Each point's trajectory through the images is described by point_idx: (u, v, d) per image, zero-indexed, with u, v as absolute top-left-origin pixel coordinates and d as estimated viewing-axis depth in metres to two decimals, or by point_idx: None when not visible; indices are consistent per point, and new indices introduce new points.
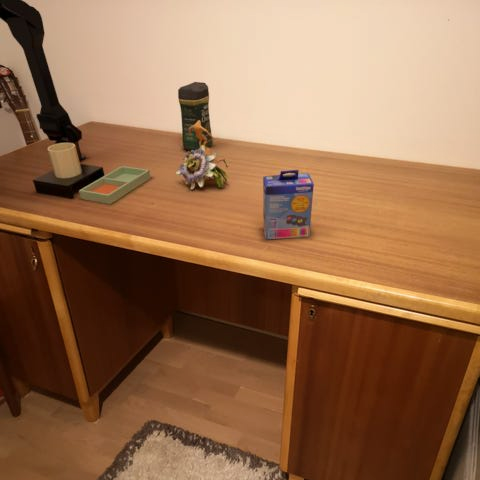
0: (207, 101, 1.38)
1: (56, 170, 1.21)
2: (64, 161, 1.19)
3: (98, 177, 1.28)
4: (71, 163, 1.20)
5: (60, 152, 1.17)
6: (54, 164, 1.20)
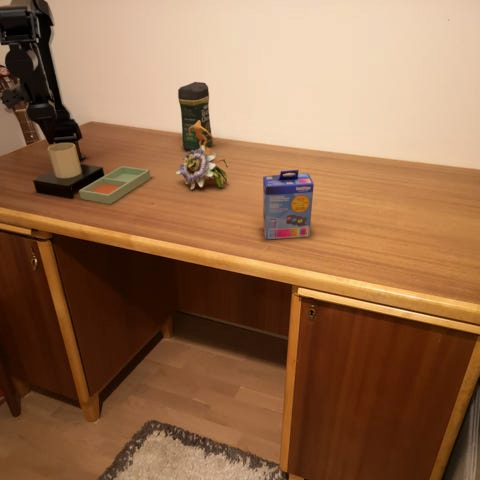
0: (207, 101, 1.38)
1: (56, 170, 1.21)
2: (64, 161, 1.19)
3: (98, 177, 1.28)
4: (71, 163, 1.20)
5: (60, 152, 1.17)
6: (54, 164, 1.20)
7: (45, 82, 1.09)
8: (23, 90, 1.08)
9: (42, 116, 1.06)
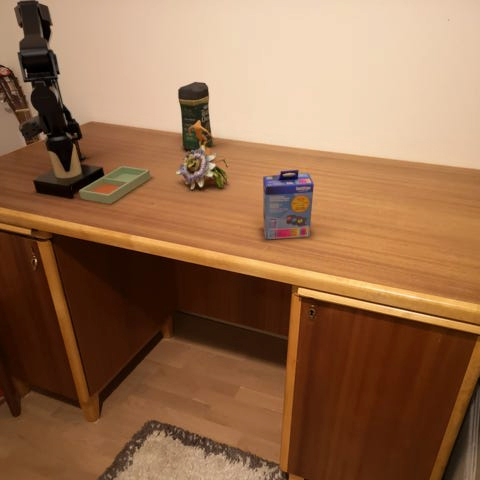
0: (207, 101, 1.38)
1: (56, 170, 1.21)
2: None
3: (98, 177, 1.28)
4: (71, 163, 1.20)
5: None
6: (54, 164, 1.20)
7: (62, 115, 1.15)
8: (42, 123, 1.13)
9: (61, 148, 1.11)
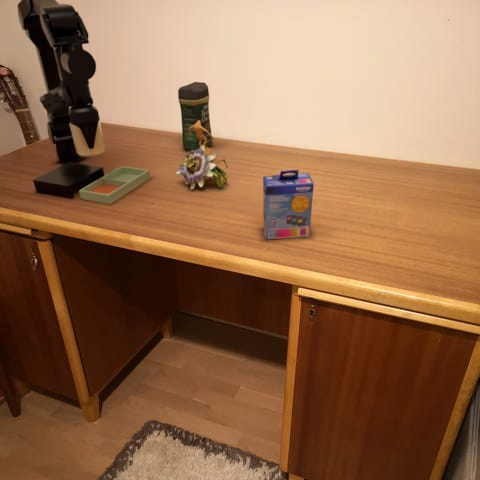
0: (207, 101, 1.38)
1: (79, 147, 1.11)
2: None
3: (98, 177, 1.28)
4: (95, 139, 1.11)
5: None
6: (77, 140, 1.10)
7: (87, 85, 1.05)
8: (65, 94, 1.03)
9: (86, 121, 1.02)
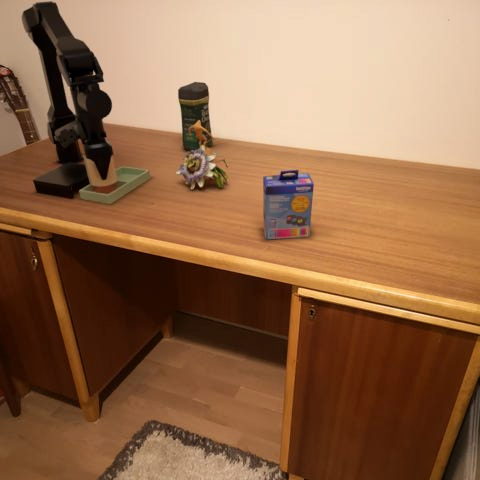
0: (207, 101, 1.38)
1: (92, 178, 1.15)
2: None
3: None
4: (108, 171, 1.14)
5: None
6: (90, 172, 1.14)
7: (101, 120, 1.09)
8: (80, 129, 1.07)
9: (100, 156, 1.06)
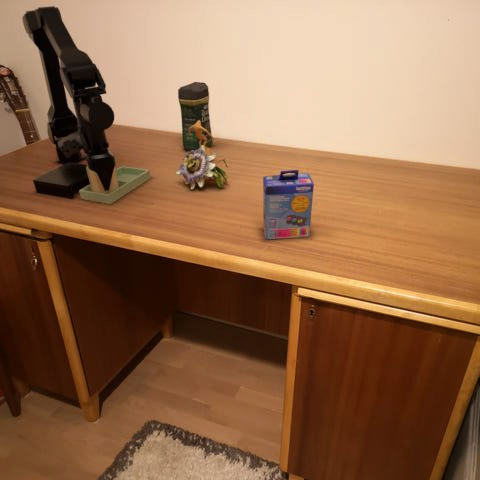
0: (207, 101, 1.38)
1: (95, 189, 1.17)
2: None
3: None
4: None
5: None
6: (93, 183, 1.16)
7: (103, 131, 1.10)
8: (82, 140, 1.09)
9: (102, 166, 1.07)
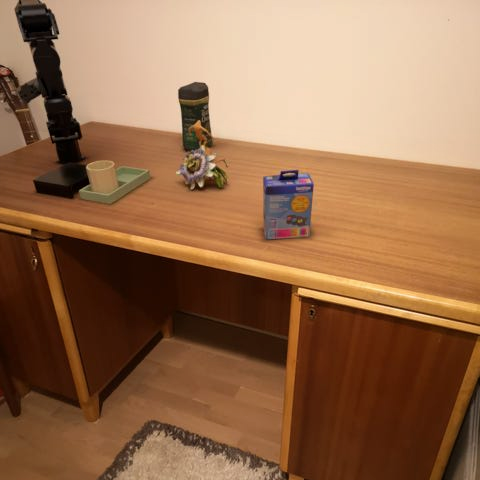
0: (207, 101, 1.38)
1: (95, 189, 1.17)
2: (104, 180, 1.15)
3: None
4: (110, 182, 1.16)
5: (100, 171, 1.14)
6: (93, 183, 1.16)
7: (61, 77, 1.14)
8: (40, 85, 1.12)
9: (59, 110, 1.11)
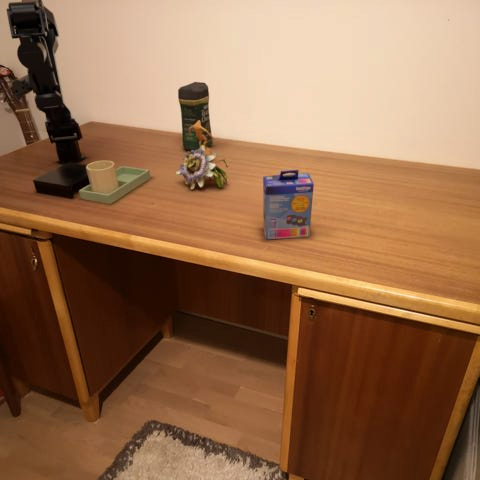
0: (207, 101, 1.38)
1: (95, 189, 1.17)
2: (104, 180, 1.15)
3: None
4: (110, 182, 1.16)
5: (100, 171, 1.14)
6: (93, 183, 1.16)
7: (52, 74, 1.16)
8: (31, 81, 1.14)
9: (50, 105, 1.13)
